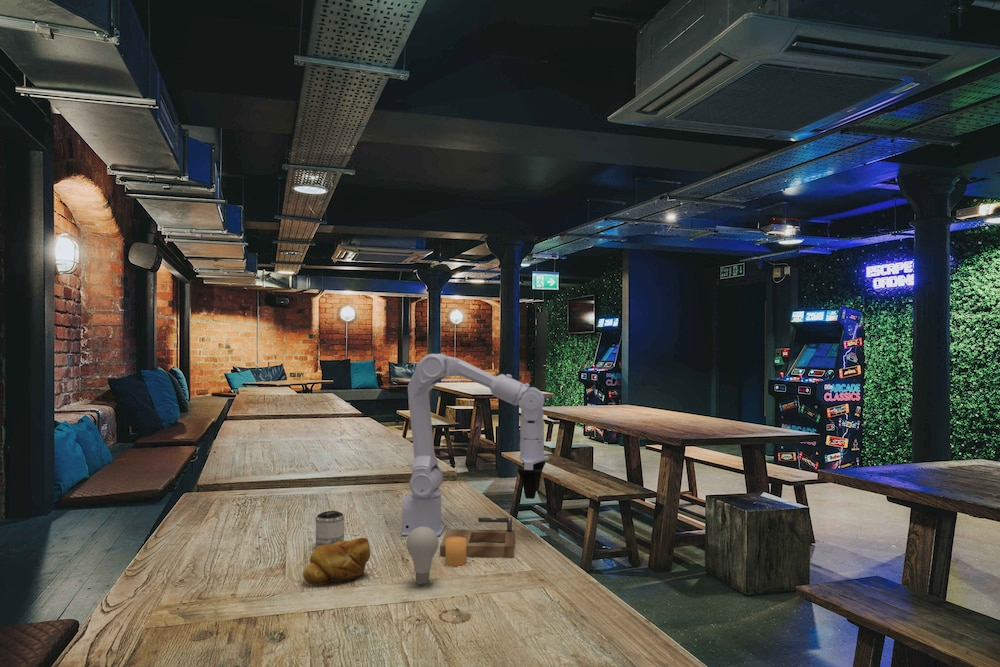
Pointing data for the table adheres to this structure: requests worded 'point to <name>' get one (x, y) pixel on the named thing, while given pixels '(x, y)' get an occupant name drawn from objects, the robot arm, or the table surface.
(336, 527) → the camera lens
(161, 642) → the table surface
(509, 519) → the hook
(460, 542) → the orange rounded capsule
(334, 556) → the bread roll
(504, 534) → the brown square frame
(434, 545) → the lightbulb
